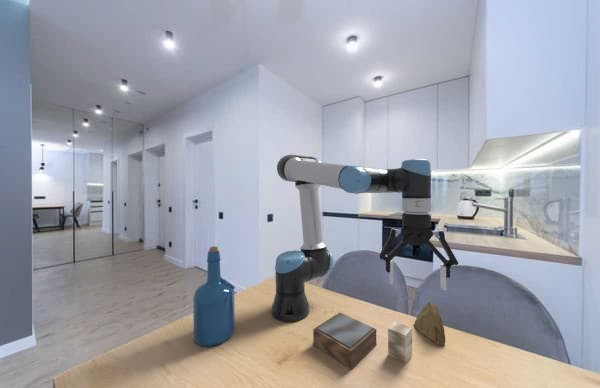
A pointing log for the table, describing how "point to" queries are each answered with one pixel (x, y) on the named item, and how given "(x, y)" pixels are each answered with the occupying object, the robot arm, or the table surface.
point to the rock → (431, 324)
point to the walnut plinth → (345, 339)
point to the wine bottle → (213, 305)
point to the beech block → (400, 342)
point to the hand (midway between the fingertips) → (416, 285)
